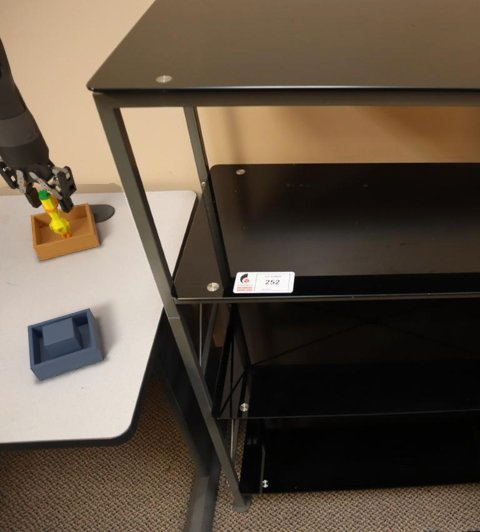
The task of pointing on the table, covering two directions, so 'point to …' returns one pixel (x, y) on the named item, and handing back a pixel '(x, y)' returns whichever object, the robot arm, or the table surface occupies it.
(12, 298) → the table surface
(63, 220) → the toy figure
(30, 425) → the table surface
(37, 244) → the ochre bin
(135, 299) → the table surface
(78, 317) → the blue bin
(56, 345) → the blue block
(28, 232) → the table surface
